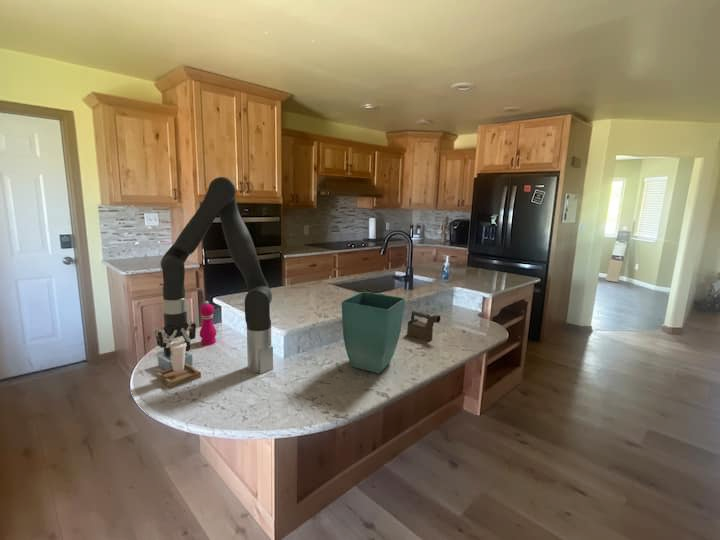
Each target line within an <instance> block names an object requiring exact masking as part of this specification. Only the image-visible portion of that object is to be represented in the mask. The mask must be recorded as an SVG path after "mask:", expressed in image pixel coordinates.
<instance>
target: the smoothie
mask: <svg viewBox="0 0 720 540" xmlns="http://www.w3.org/2000/svg"><path fill="white" fill-rule="evenodd" d="M186 346H187V344H186V342H184V341H183V340H182V341H181V340H179V337H177V338H176V341H172V342H171V344H170V346H169V347H170V358H171V363H172V367H173V371H181V370H183V369H184V363H185V351H186ZM186 352H187V351H186Z"/></svg>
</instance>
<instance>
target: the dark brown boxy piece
mask: <svg viewBox="0 0 720 540" xmlns="http://www.w3.org/2000/svg"><path fill="white" fill-rule="evenodd" d="M415 316H416V317H419V318H425V319H426V320H427V321H426V322H425V321H422V320H419V319H418V318H415ZM440 322H441V315H440V314H439V315H436V314H435V315H434V314H433V315H430V314H429V313H423V312H419V311H415V310H412V311H411V319H410V320H409V321H407V328H406V329H407V330H406V331H407V332H406V335H407V336H409V337H412V338H416V339H418V340H419V339H420V340H423V341H424V340H425V341H432V340H433V332H434V329H433V327H434V324H435V323H436V324H438V323H440Z"/></svg>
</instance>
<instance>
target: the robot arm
mask: <svg viewBox="0 0 720 540" xmlns="http://www.w3.org/2000/svg"><path fill="white" fill-rule="evenodd" d="M236 194H237V189H236V185H235V184H234V182H233V181H232V180H231V179H229V178H228V177H223V176H221V177H220V176H219V177H216V178H214V179H212V181H210V183H209V185H208V189H207V192H206V194H205V195H204V198H203V200H202V202H201V203H200V206H199V208H197V210H196V212H195V213H194V214H193V216H192V217H191V218H190V219H189V221H188V223H187V224H186V225H185V226H184V228H183V229H182V231H181V232H180V233H179V235H178V236H177V238H176V240H175V242H173V244H172V245H171V247H170V248H169V249H168V250H167V251H166V252H165V253H164V256H162V258H161V260H160V268H161V271H162V280H163V285H162V297H163V299H162V300H163V301H162V311H163V312H162V313H163V325H164V327H163V329H160V330H158V329H157V330H155V331H154V334H155V338H156V344H157V346H158V347H160V349H162V348H163V354H164V355H165V356H167V357H170V347H169V346H170V344H171V343H172V342H174V339H177V337H178V338H181V337H182V338H183V340H184V341H183V342H186V344H187V346H186V352H188V353H189V351H190V350H191V341H192V340H194V339H195V338H196V329H197V328H196V327H197V323H195V322H192V321H190V322H188V311H187V309H188V308H187V300H186V289H185V288H186V287H185V272H186V269H185V262H186V261H187V259H188V257H189V256H190V255H192V254H194V252H195V251H196V250H197V248H198V247H199V245H200V244H201V243H202V241H203V239H204V238H205V236H206V235H207V233H208V230H209V229H210V227H211V226H212V224H213V222H214V220H215V219H216V218H217V217H219V219H220V222H221V228H222V232H223V235H224V238H225V243H226V246H227V249H228V252H229V255H230V258H231V259H232V260H233V263H234V264H235V266H236V267H237V268H238V270H239V271H240V273H241V275H242V277H243V278H244V281H245V282H244V283H245V285H246V288H247V289H246V290H247V293H246V295H245V297H244V320H245V324H246V348H247V349H246V350H247V351H246V353H247V370H248V371H249V372H250V373H253V374H261V375H262V374H264V373H266V372H269V371H271V370H273V369H274V347H273V346H272V320H271V316H270V315H271V312H270V311H271V310H270V306H271V302H272V300H273V296H272V295H273V294H272V290H271V289H270V287H269V285H268V282H267V280H266V278H265V276H264V274H263V272H262V271H263V270H262V268H261V264H260V260H259V257H258V254H257V251H256V250H257V249H256V248H255V244H254V242H253V238H252V236H251V233H250V231H249V229H248V227H247V225H246V223H245V221H244V220H243V218H242V216H241V214H240V211H239V208H238V207H239V206H238V203H237V198H236ZM187 329H188V330H189V331H188V333H187ZM164 333H165V337H163V336H164ZM163 338H164V339H163Z"/></svg>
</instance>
